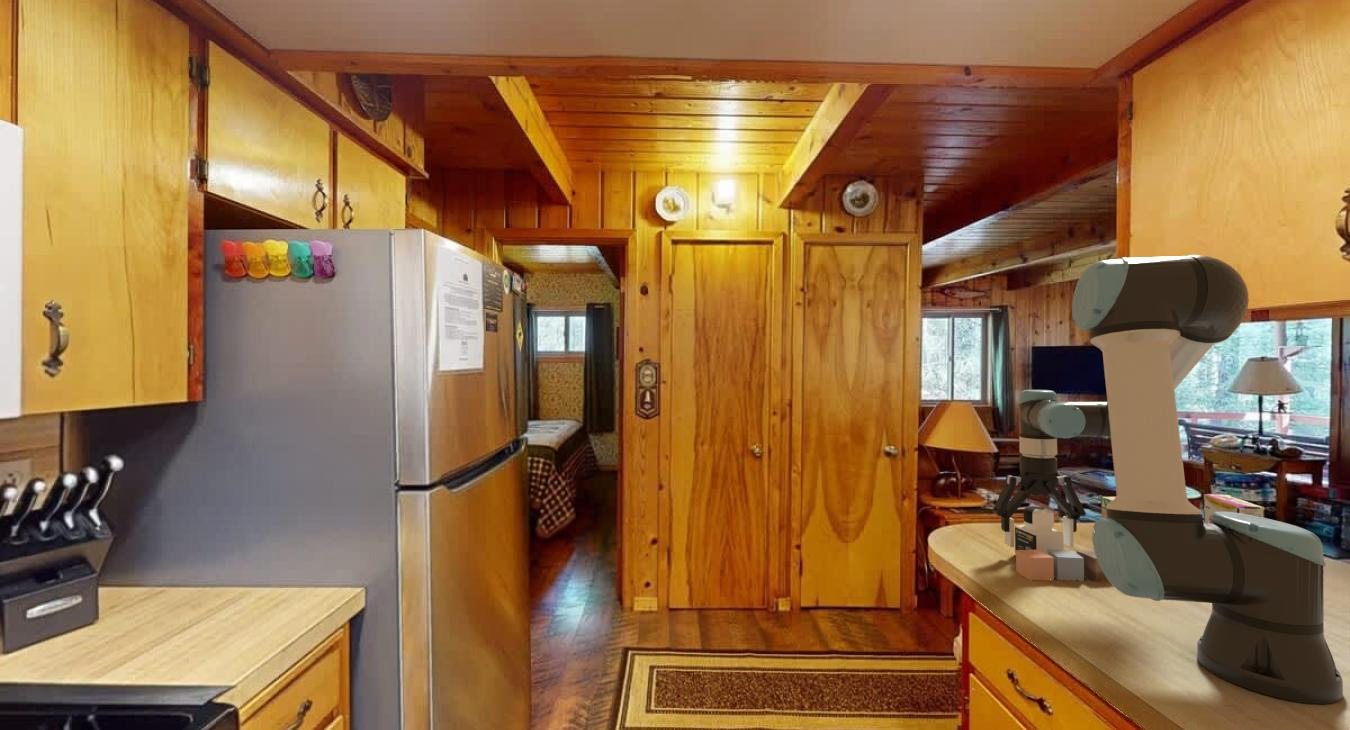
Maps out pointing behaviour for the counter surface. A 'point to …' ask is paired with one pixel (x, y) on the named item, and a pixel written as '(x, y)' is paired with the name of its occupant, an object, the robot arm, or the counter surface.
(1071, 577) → the slate blue cube
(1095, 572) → the walnut cube
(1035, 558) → the terracotta cube
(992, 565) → the counter surface
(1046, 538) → the medicine bottle
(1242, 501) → the candy bar box
